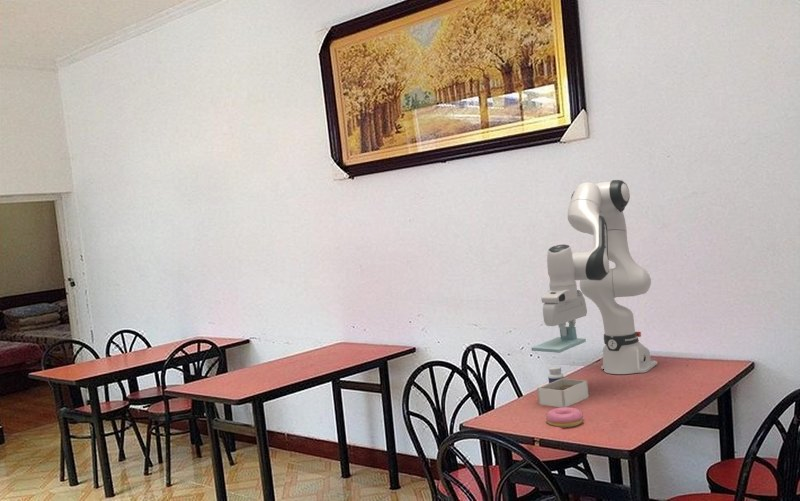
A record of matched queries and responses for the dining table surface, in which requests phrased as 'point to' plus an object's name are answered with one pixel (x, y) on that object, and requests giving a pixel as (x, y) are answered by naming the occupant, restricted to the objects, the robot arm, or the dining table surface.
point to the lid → (560, 342)
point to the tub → (563, 393)
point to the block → (566, 387)
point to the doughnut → (564, 417)
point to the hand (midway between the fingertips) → (568, 334)
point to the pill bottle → (555, 374)
